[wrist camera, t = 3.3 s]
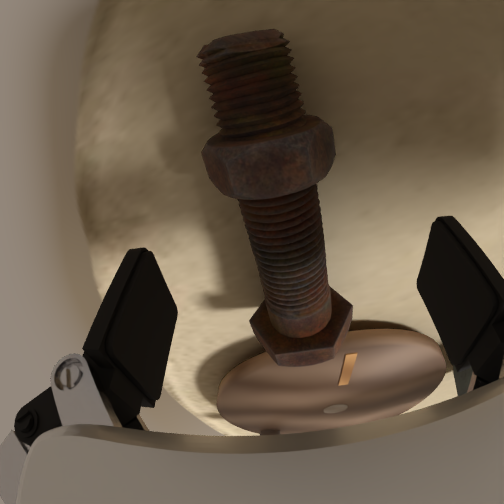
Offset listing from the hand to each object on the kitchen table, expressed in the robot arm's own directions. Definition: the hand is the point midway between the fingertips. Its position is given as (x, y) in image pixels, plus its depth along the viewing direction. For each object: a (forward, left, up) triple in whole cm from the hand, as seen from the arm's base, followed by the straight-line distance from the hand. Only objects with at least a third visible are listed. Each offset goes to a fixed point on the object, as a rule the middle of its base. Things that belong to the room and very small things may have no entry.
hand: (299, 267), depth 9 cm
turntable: (+22, +4, -6) cm, 23 cm away
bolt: (0, 0, -6) cm, 6 cm away
